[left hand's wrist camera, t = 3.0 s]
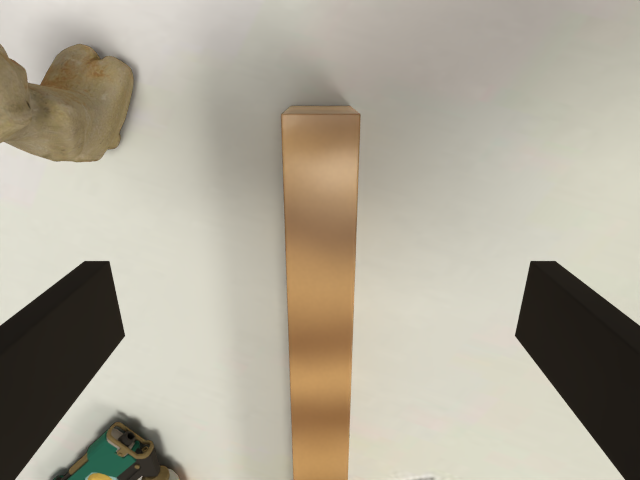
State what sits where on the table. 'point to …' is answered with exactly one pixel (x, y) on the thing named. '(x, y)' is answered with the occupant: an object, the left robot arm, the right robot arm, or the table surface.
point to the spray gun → (119, 459)
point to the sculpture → (65, 105)
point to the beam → (320, 281)
